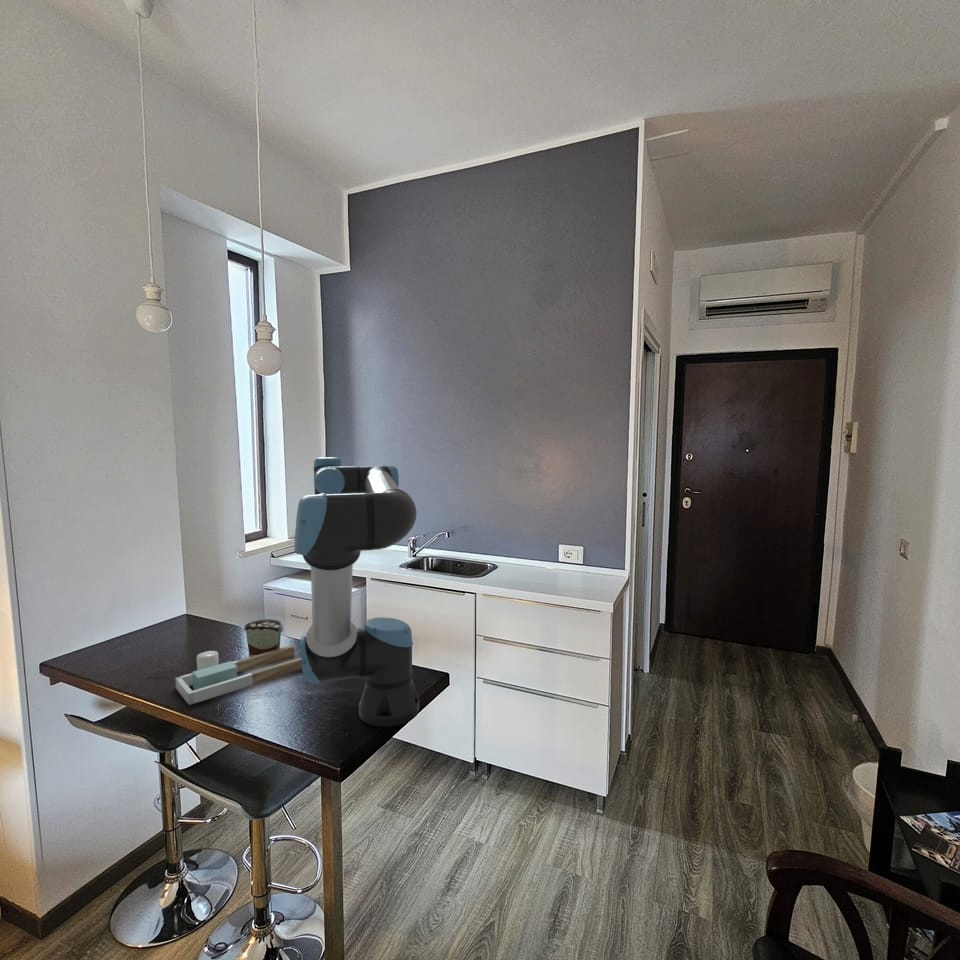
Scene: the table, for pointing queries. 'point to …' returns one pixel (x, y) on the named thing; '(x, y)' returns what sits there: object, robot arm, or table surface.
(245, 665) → the guide channel
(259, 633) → the food container
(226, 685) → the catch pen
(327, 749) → the table surface
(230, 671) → the pale teal block
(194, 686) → the pale teal cube
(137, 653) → the table surface
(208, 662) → the white rounded capsule
